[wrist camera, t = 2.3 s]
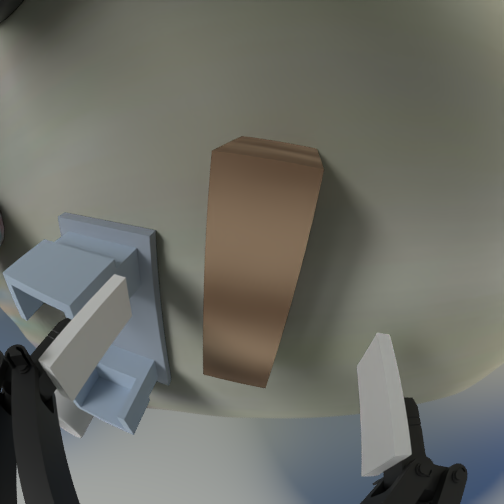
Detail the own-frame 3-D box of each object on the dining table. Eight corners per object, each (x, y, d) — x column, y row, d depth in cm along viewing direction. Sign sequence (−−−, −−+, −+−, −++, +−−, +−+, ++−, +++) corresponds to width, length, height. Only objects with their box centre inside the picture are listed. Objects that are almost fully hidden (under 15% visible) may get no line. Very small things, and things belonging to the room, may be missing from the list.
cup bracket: (64, 212, 21) (-7, 263, 13) (155, 230, 20) (82, 306, 12) (103, 353, 31) (71, 404, 23) (171, 379, 30) (144, 440, 22)
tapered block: (242, 135, 16) (212, 150, 11) (316, 148, 15) (324, 169, 10) (223, 319, 23) (203, 374, 18) (275, 330, 23) (265, 388, 18)
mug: (111, 372, 33) (78, 430, 24) (112, 393, 38) (85, 443, 28) (49, 331, 33) (11, 380, 23) (57, 357, 37) (26, 401, 27)
